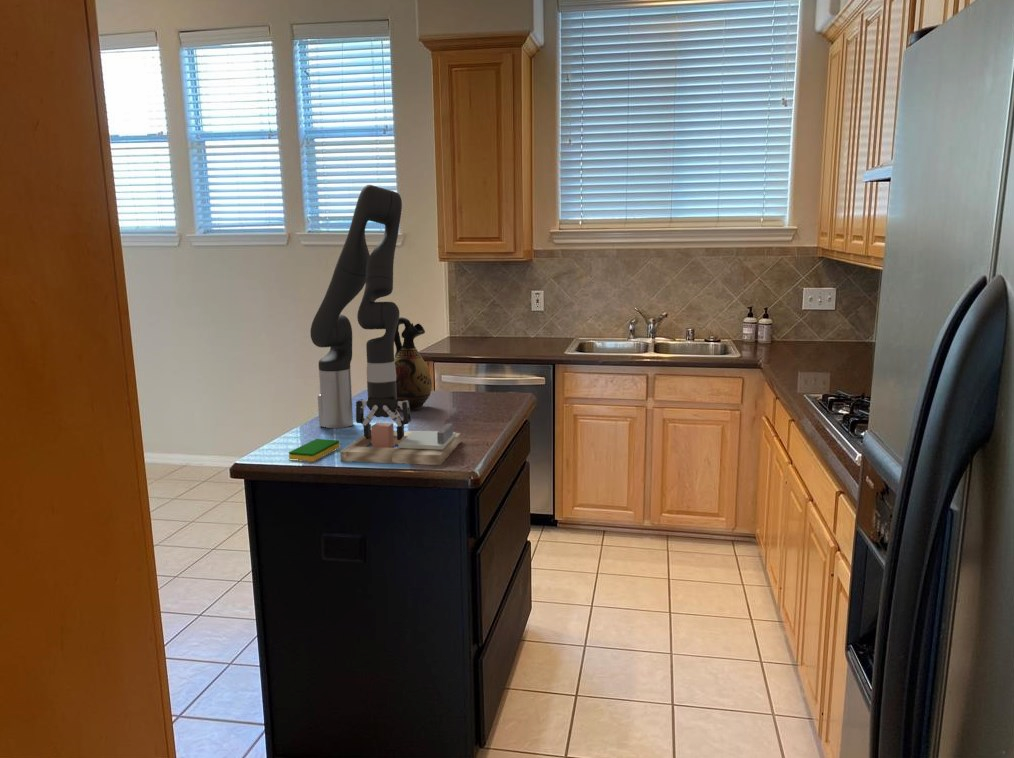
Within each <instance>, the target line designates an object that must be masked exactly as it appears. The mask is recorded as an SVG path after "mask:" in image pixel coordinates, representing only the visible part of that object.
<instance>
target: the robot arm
mask: <svg viewBox="0 0 1014 758" xmlns="http://www.w3.org/2000/svg"><path fill="white" fill-rule="evenodd" d="M402 208H403V202H402V198H401V195H400V193H399V192H397V191H394V190H390V189H386V188H383V187H380V186H377V185H373V184H366V185H365V186H363V188H362V189H361V191H360V193H359V196H358V198H357V201H356V206H355V209H354V212H353V216H352V219H351V223H350V227H349V231H348V233H347V236H346V239H345V241H344V243H343V247H342V249H341V251H340V254H339V257H338V259H337V262H336V265H335V267H334V270H333V274H332V277H331V280H330V281H329V284H328V288H327V289H326V290H327V291H326V292H325V295H324V297H323V299H322V301H321V304H320V306H319V308H318V310H317V312H316V313H315V315H314V318H313V320H312V322H311V326H310V340H311V342H312V344H313V345H315V346H316V347H318V348H329V351H328V352H327V354H326V355H324V356H323V357H321V358H320V359H319V360H318V377H319V394H318V395H317V405H318V406H317V407H318V426H319V427H320V426H322V428H325V427H326V428H327V429H342V428H343V429H344V428H348V427H350V426H351V427H352V426H353V425H354V415H353V414H354V413H353V412H354V411H353V394H352V393H353V392H352V391H353V390H352V389H353V388H352V375H351V374H352V372H351V362H352V359H353V327H352V323H351V321H350V319H349V318H348V317H347V316H346V315H344V314H341V313H342V312H343V310H344V309H345V308H346V307H347V306H348V305H349V304H350V303H351V302H352V301H353V300H354V299H355V297H357V296H358V295H359V294H360V293H361V291H362V290H363V288H364V287H365V288H364V292H363V295H362V299H361V302H360V304H359V307H358V311H357V314H356V317H357V318H356V319H357V322H358V323H357V324H359V326H360V327H361V328H362V329H363V330H385V332H384V334H383V335H382V336H380V337H375V338H370V339H369V340H367V342H366V344H365V345H366V348H365V349H366V351H365V352H366V386H367V387H366V388H367V389H366V390H367V400H364V399H362V398H361V399H358V400H357V401H356V402H355V422H356V423H357V424H361V425H362V426H363V435H364V436H365V437H366V439H370V438H371V427H372V424H371V422H372V420H373V419H374V417H375V418H390V419H391V420H392V421H394V422H395V424H396V425H397V426H396V431H397V440H401V439H402V438H403V437H404V431H405V426H406V425H408V424H409V423H410V422H411V421H412V417H411V411H410V406H409V401H408V400H406V401H398V400H397V388H396V368H395V362H394V358H395V342H394V338H395V333H396V328H397V325H398V321H399V318H400V309H399V307H398V305H397V304H396V303H395V302H393V301H376V300H377V299H381V298H384V297H387V296H390V295H391V294H392V293H393V290H394V263H395V262H394V260H395V254H396V253H395V252H396V249H397V248H396V247H397V242H398V236H399V230H400V224H401V217H402ZM369 221H370V222H374V223H377V224H381V225H384V233H383V236H382V238H381V240H380V241H379V242H378V244H377V245H376V246H375V248H374V249H373V251H372V252H371V254H370V251H369V247H368V245H367V240H366V228H367V227H366V226H367V224H368V222H369ZM398 406H400V408H401V409H402V410H403V411H402V417H401V414H400V413H399V410H396V408H397V407H398ZM366 407H367V408H368V409H369V410H370V411H369V413H368V414H367V415H366V416H365V417H364V411H365V410H364V409H366Z"/></svg>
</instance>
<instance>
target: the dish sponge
mask: <svg viewBox="0 0 1014 758" xmlns="http://www.w3.org/2000/svg"><path fill="white" fill-rule="evenodd" d="M339 447H340V440H337V439H327V438H326V439H323V438H315V439H313V440H311V441H309V442H307V443H305V444H303V445H301V446H298V447H296V448H295V449H293V450H290V451H289V452H288V460H289V459H298V460H297V461H299V460H307V461H306V462H311V461H312V462H315V461H317V460H319V459H321V458H323V457H324V456H323V455H325V454H327V453H329V452H331V451H332V452H334V451H336V450H338V449H340V448H339ZM337 448H338V449H337ZM335 449H336V450H335ZM333 450H334V451H333ZM332 452H331V453H332ZM329 454H330V453H329ZM327 455H328V454H327ZM322 456H323V457H322ZM325 456H326V455H325ZM320 457H321V458H320ZM318 458H319V459H318ZM316 459H317V460H316ZM314 460H315V461H314Z"/></svg>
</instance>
